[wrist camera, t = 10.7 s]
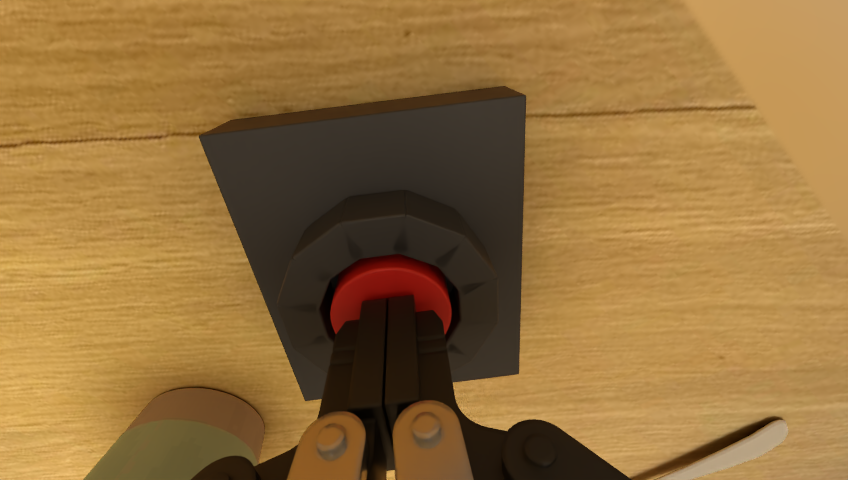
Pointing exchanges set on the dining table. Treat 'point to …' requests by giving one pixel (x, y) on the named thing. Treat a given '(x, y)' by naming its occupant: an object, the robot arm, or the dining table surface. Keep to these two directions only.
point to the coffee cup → (183, 437)
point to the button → (389, 287)
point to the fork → (734, 453)
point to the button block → (383, 214)
